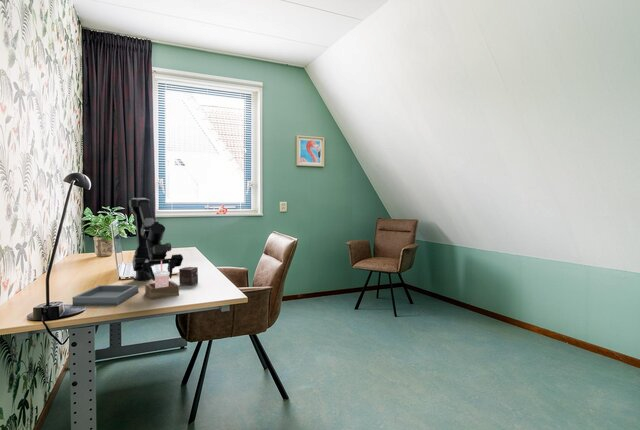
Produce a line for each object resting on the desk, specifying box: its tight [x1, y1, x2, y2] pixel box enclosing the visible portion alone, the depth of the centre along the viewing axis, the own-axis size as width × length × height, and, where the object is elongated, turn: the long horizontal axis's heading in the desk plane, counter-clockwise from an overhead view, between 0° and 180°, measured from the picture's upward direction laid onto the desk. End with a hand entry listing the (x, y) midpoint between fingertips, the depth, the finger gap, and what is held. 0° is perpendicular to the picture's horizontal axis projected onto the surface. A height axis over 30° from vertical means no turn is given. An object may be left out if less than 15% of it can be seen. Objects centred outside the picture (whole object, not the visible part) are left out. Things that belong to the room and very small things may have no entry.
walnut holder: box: [144, 280, 180, 300], centre depth 157 cm, size 10×10×4 cm
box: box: [178, 266, 199, 287], centre depth 175 cm, size 6×6×7 cm
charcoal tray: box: [72, 284, 139, 306], centre depth 151 cm, size 18×16×3 cm
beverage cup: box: [153, 260, 170, 288], centre depth 157 cm, size 6×6×14 cm
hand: (162, 279), depth 156 cm, fingers closed on beverage cup, 6 cm apart
